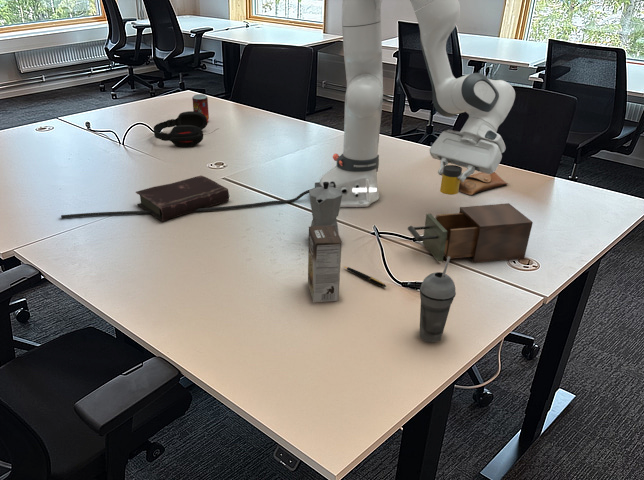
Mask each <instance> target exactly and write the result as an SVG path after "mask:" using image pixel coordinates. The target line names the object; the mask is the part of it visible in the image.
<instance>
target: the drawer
mask: <svg viewBox="0 0 644 480" xmlns="http://www.w3.org/2000/svg"><path fill="white" fill-rule="evenodd" d="M425 215H426V216H425V223H424V225H423V226H413V225H409V226H408V227H407V230H408V232H409V233H410V234H411V236H413V238H414V239H415V240H416V242H418V243H420V242H422V245H424V246H425V247H426V249H427V250H428V252H429V253H430V254H431V255H432V256H433V258H435V260H436V261H437V262H438V263H442V262H444V258H445V259H446V260H447V258H448V256H450V260H451V259H461V258H469V257H473V256H474V251H475V245H476V240H477V235H478V230H479V228H478V227H477V226H476V225H475V224H474V223H473V222H472V221H471V220H470V219H469V218H468V217H467V216H466V215H465V214H464V213H459V212H456V213H443V214H435V216H434V215H433V214H432V213H426V214H425ZM419 230H423V236H421V234H420V233H419V232H417V231H419Z"/></svg>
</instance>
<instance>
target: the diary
mask: <svg viewBox="0 0 644 480" xmlns="http://www.w3.org/2000/svg"><path fill="white" fill-rule="evenodd" d="M135 194H137V195H139V198H140V199H139V200H140V202H139V203H137V206H138V207H140V208H141V209H142V210H143V211H152V210H153V211H154V213H150V214H149V215H152V216H153V217H155V218H156V219H158V220H159V221H160V222H165V221H168V220H171V219H173V218H176V217H177V218H178V217H180V216H183V215H187V214H190V213H195V212H194V211H195V210H196V209H199V208H211V207H213V206H216V205H219V204H223V203H228V202H229V201H230V192H229V188H228V187H225V186H223V185H221V184H220V183H218V182H216V181H214V180H213V179H211V178H208V177H206V176H204V175H197V176H194V177H190V178H186V179H183V180H179V181H175V182H171V183H167V184H161V185H155V186H152V187H148V188H144V189H140V190H137V191H135Z"/></svg>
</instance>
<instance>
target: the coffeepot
mask: <svg viewBox="0 0 644 480" xmlns="http://www.w3.org/2000/svg"><path fill="white" fill-rule="evenodd" d="M323 186H324V187H316V188H315V187H313V188H314V189H312V188H311V189H312V190H310V189H308V190H309V193H308V194H309V202H310V210H311V215H312V220H311V222H310V226H332V225H334V226H335V228H336V230H337V232H338V235H339V234H340V233H339V226H338V225H339V224H338V219H337V217H338V216H339V213H340V209H341V207H340V204H341V199H342V195H343V194H342V192H341V190H340V189H337V188H336V185H335V182H333V181H332V182H330V183H329V182H323ZM339 236H340V235H339ZM308 241H309V237H308Z"/></svg>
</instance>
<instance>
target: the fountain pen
mask: <svg viewBox="0 0 644 480" xmlns="http://www.w3.org/2000/svg"><path fill="white" fill-rule="evenodd" d="M344 268H345V269H346V270H347V271H349V272H350V273H352V274H354V275H356V276H358V277H359V278H362V279H364V280H366V281H368V282H369V283H372V284H374V285H376V286H379V287H382V288H387V285H386V284H385V283H384V282H382V281H381V280H379V279H377V278H376V277H375V278H374V277H373V276H369V275H367V274H365V273H363V272H361V271H359V270H356V269H354V268H352V267H347V266H344Z"/></svg>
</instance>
